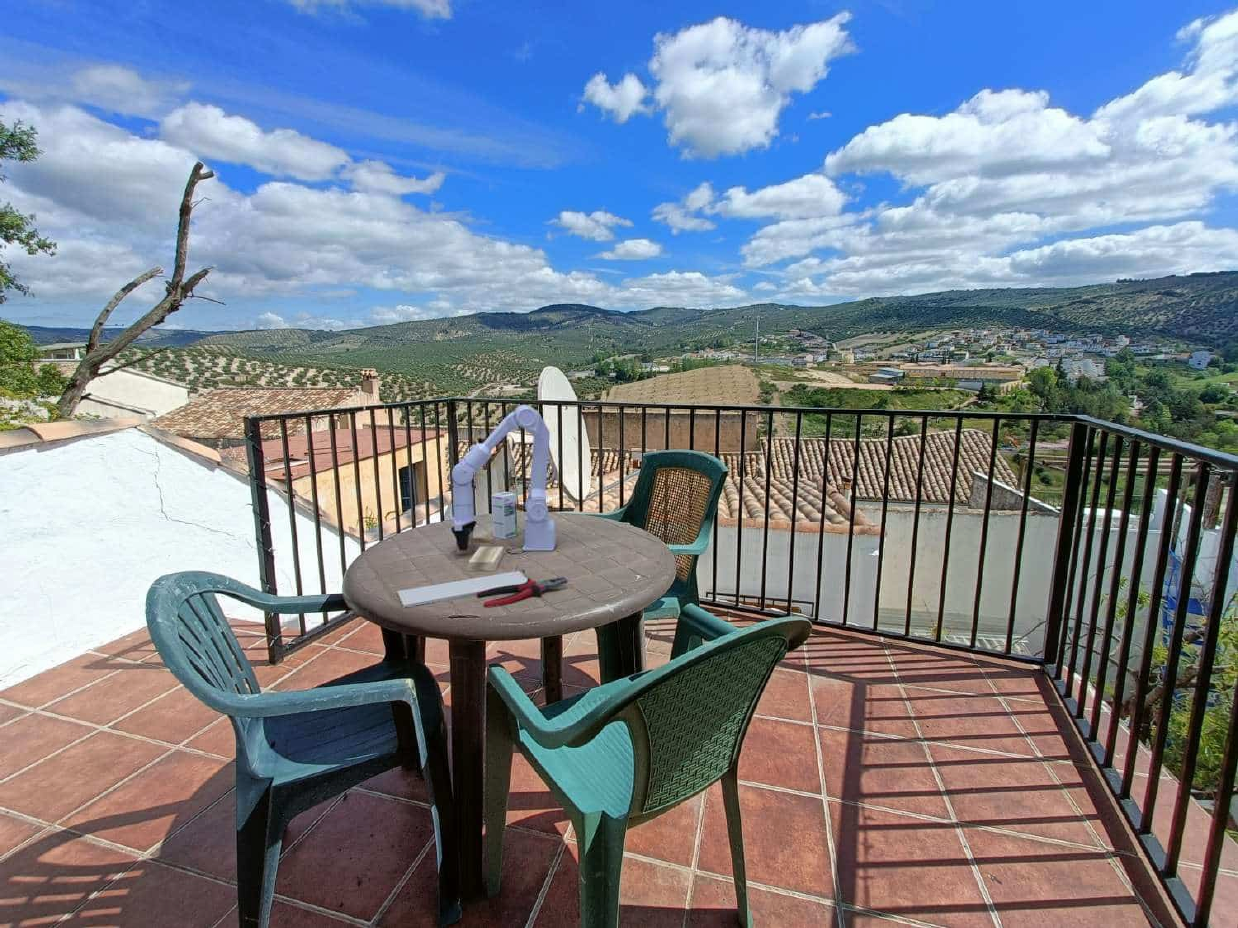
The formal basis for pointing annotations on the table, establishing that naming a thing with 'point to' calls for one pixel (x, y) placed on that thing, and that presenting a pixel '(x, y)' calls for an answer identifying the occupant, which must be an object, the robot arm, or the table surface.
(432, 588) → the baseboard
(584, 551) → the table surface
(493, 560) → the plank
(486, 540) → the wooden mallet
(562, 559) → the table surface
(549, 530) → the robot arm
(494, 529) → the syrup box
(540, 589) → the pliers
